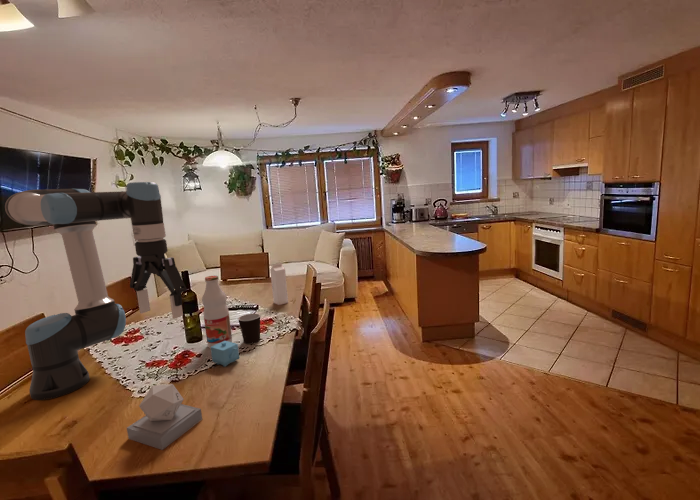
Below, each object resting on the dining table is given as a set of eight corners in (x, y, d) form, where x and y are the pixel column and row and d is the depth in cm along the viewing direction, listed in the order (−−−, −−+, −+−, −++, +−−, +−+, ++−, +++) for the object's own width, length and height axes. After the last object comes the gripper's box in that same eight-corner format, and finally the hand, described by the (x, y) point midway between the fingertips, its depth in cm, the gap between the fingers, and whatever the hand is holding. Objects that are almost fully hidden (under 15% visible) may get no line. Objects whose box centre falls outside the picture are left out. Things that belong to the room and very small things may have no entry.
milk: (273, 303, 195) (269, 263, 191) (283, 300, 198) (279, 262, 195) (278, 305, 190) (274, 265, 187) (288, 302, 194) (284, 263, 190)
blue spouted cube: (246, 362, 125) (243, 342, 124) (231, 370, 120) (229, 349, 119) (224, 356, 131) (221, 336, 130) (210, 363, 126) (207, 343, 125)
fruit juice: (237, 340, 145) (229, 274, 141) (221, 350, 136) (212, 279, 132) (219, 338, 148) (210, 273, 144) (202, 348, 140) (192, 279, 136)
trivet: (128, 438, 87) (126, 426, 87) (170, 410, 98) (168, 400, 98) (162, 449, 83) (160, 437, 82) (202, 419, 93) (200, 407, 93)
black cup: (259, 344, 140) (257, 320, 138) (238, 345, 140) (235, 321, 138) (266, 333, 151) (264, 310, 150) (246, 334, 151) (244, 311, 150)
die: (156, 435, 84) (179, 395, 86) (125, 416, 85) (149, 377, 87) (174, 425, 92) (195, 389, 94) (145, 408, 93) (167, 373, 95)
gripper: (108, 241, 98) (120, 314, 102) (169, 242, 88) (180, 324, 91) (134, 237, 105) (144, 306, 108) (194, 238, 94) (203, 314, 98)
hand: (161, 314), depth 100 cm, fingers open, 13 cm apart
